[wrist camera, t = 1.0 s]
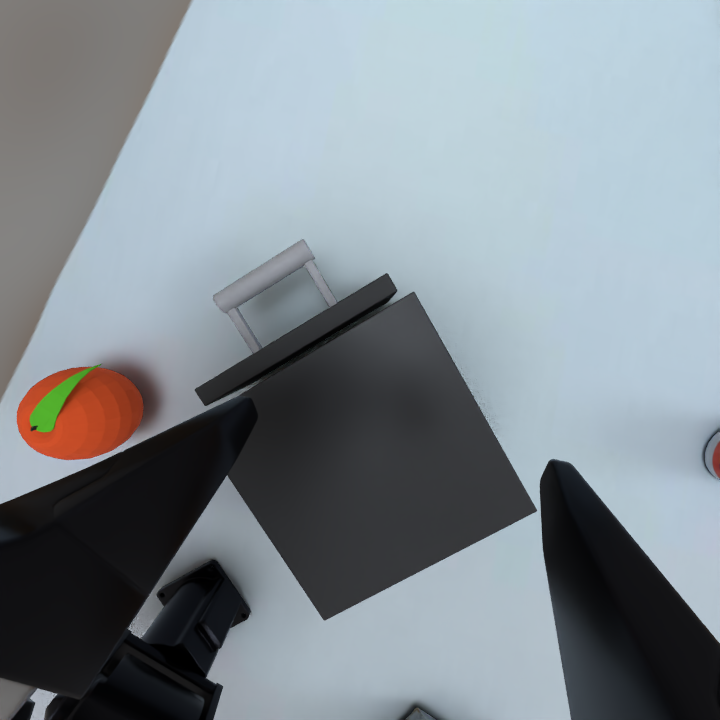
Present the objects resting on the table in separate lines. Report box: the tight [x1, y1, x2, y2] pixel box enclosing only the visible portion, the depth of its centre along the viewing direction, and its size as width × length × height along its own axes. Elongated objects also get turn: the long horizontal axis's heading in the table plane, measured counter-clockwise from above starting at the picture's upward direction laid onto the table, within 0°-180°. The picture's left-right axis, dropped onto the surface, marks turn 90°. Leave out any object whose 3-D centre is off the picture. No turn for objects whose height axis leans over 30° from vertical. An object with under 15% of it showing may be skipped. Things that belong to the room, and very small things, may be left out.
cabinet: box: [227, 292, 537, 620], centre depth 21 cm, size 15×15×9 cm
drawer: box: [195, 239, 397, 406], centre depth 21 cm, size 18×13×7 cm
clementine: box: [17, 364, 143, 460], centre depth 22 cm, size 8×7×7 cm
